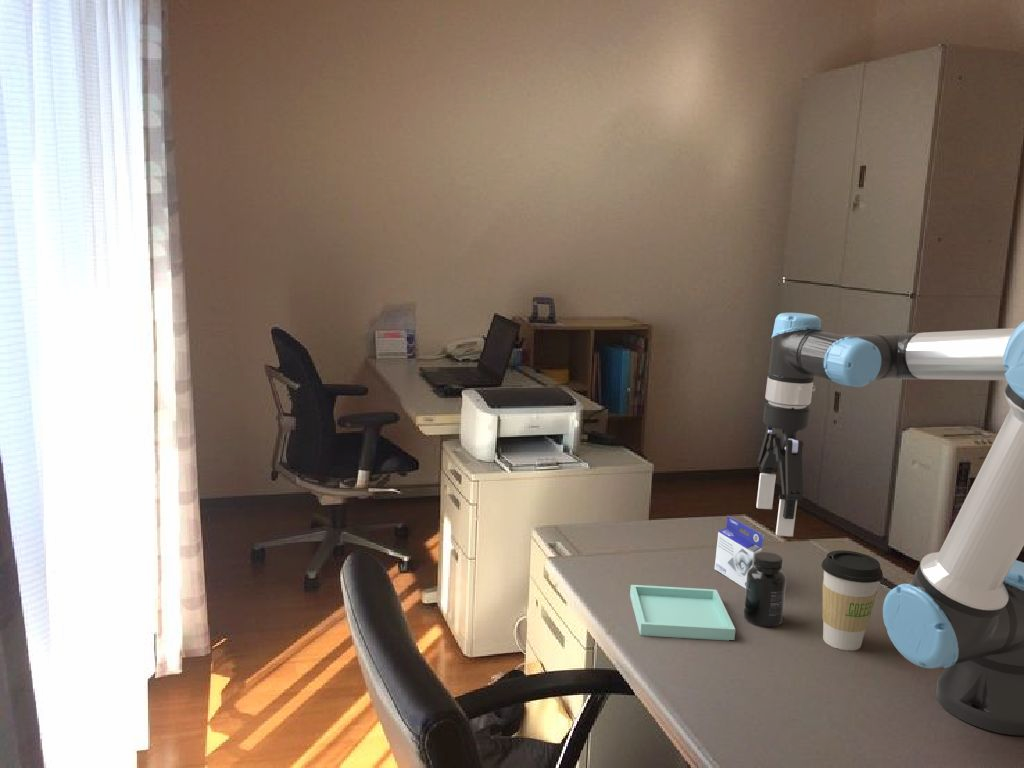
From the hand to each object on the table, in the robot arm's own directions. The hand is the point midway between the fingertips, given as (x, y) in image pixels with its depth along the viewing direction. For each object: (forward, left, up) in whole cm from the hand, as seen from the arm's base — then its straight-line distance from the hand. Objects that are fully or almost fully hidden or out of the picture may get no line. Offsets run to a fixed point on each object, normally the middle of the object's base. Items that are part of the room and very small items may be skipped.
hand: (773, 521), depth 160 cm
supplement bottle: (0, 0, -19) cm, 19 cm away
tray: (-1, +15, -18) cm, 24 cm away
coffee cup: (-7, -12, -19) cm, 23 cm away
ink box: (+17, +1, -19) cm, 25 cm away
